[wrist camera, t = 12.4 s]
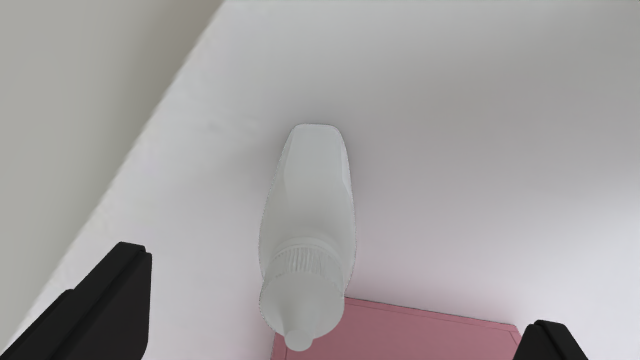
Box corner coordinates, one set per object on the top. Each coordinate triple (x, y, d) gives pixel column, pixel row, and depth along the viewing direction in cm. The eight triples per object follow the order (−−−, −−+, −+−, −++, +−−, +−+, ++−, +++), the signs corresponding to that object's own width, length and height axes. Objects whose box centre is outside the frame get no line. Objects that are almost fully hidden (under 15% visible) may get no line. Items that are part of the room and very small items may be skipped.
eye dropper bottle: (382, 152, 22) (434, 299, 11) (322, 239, 24) (315, 442, 13) (305, 106, 22) (277, 213, 10) (249, 199, 23) (173, 377, 12)
